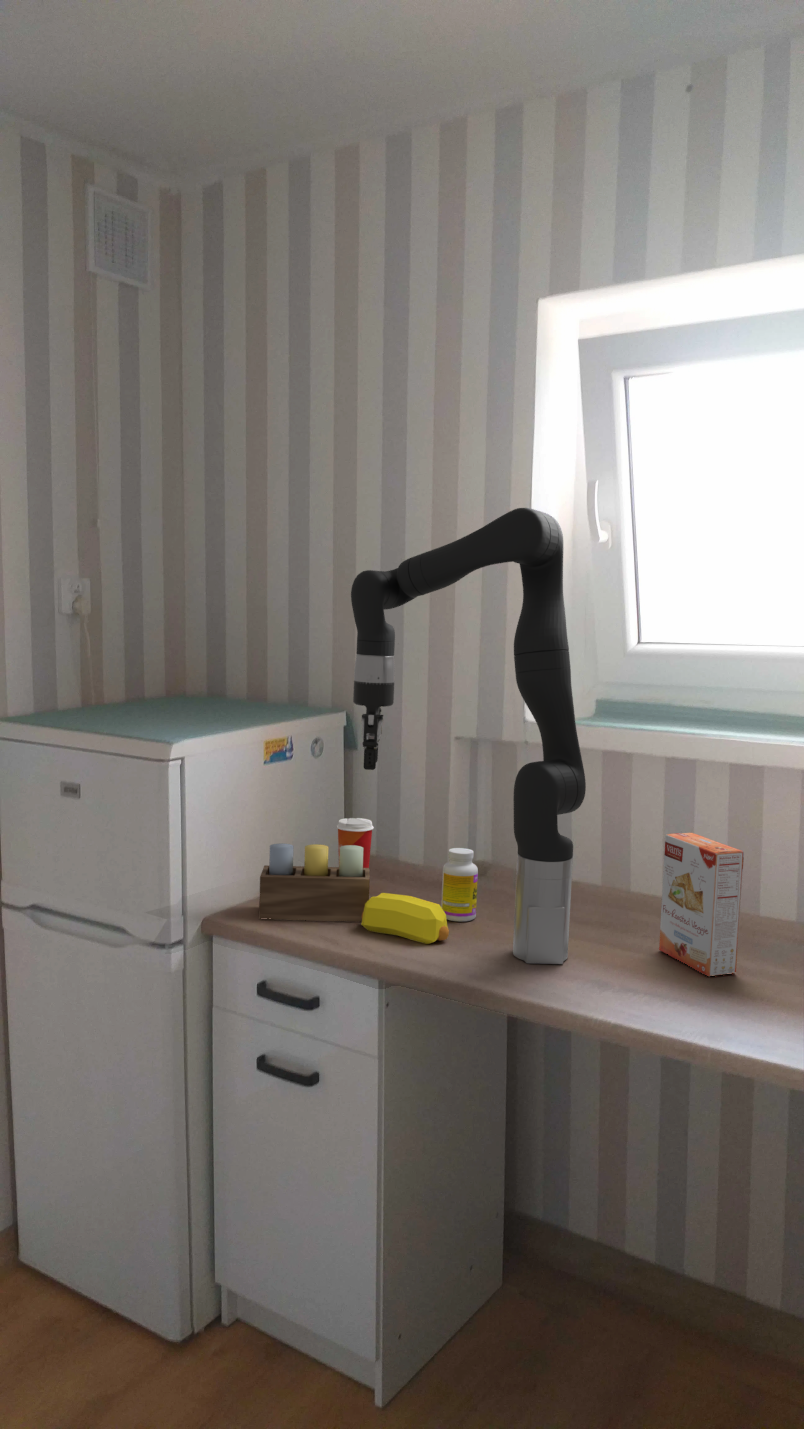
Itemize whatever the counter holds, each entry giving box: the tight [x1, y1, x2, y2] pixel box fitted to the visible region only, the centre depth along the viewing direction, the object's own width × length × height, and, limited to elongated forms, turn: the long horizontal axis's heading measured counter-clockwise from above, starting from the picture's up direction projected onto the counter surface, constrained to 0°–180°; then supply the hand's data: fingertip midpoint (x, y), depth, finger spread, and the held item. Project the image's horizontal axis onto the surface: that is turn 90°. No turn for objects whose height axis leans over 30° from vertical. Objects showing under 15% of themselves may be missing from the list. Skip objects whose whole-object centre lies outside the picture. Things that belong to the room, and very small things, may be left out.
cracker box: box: [658, 832, 745, 977], centre depth 176 cm, size 14×6×21 cm, turn 21°
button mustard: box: [303, 843, 330, 876], centre depth 196 cm, size 4×4×6 cm
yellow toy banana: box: [360, 892, 450, 945], centre depth 187 cm, size 18×7×8 cm
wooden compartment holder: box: [258, 865, 371, 923], centre depth 197 cm, size 8×20×8 cm, turn 92°
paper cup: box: [336, 817, 375, 869], centre depth 216 cm, size 8×8×14 cm
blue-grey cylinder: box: [268, 843, 294, 875], centre depth 196 cm, size 4×4×6 cm
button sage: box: [338, 845, 363, 877], centre depth 197 cm, size 4×4×6 cm
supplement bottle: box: [440, 847, 479, 923], centre depth 198 cm, size 7×7×13 cm
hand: (370, 765), depth 197 cm, fingers open, 8 cm apart
